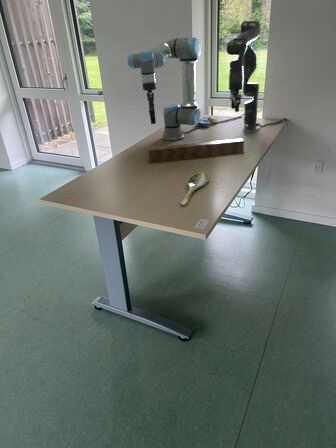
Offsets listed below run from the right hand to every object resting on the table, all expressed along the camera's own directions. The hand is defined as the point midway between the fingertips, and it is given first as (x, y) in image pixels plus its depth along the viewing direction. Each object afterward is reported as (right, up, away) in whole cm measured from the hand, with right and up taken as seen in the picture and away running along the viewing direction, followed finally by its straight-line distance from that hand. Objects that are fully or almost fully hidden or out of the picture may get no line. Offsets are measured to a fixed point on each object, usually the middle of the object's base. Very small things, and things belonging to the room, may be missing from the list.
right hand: (235, 110), depth 197 cm
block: (-22, -25, +13) cm, 36 cm away
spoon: (-27, -50, -27) cm, 63 cm away
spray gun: (-8, +14, +76) cm, 78 cm away
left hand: (-49, -7, -1) cm, 49 cm away
